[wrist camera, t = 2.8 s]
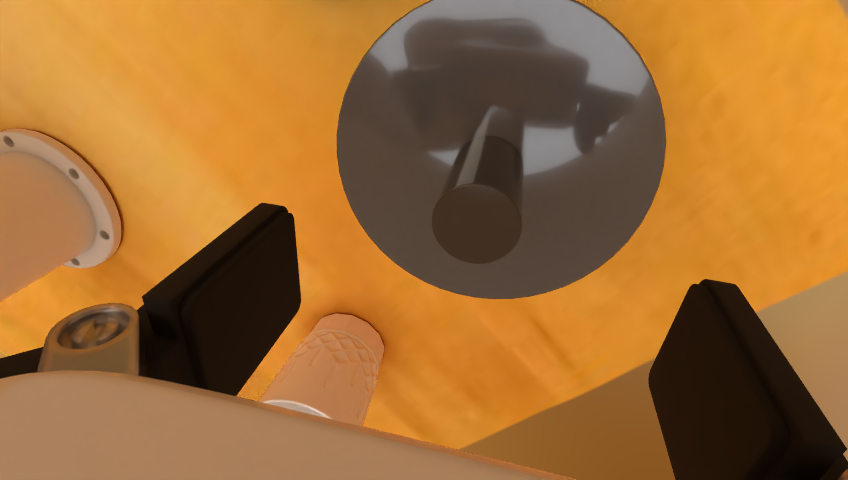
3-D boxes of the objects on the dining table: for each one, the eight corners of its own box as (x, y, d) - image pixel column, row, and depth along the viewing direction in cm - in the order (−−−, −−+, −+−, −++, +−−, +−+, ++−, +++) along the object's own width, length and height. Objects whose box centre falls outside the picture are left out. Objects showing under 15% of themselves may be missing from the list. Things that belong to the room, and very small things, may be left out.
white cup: (362, 296, 36) (311, 390, 28) (407, 364, 39) (373, 469, 31) (290, 320, 39) (225, 411, 31) (337, 381, 42) (288, 480, 34)
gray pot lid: (312, 210, 22) (244, 280, 17) (414, -87, 15) (353, -126, 10) (542, 325, 23) (545, 427, 17) (739, 89, 16) (845, 139, 10)
